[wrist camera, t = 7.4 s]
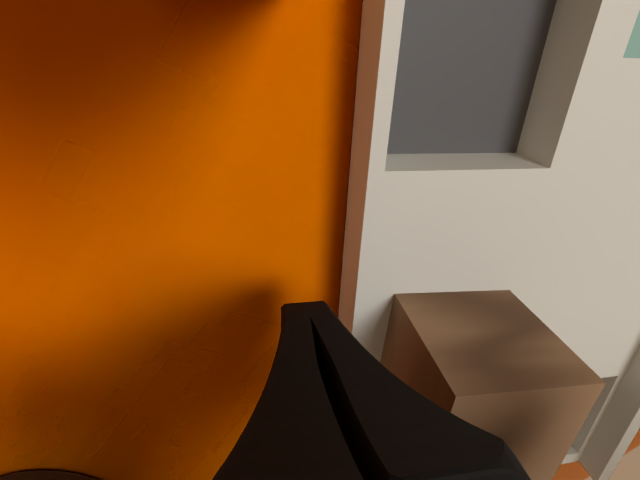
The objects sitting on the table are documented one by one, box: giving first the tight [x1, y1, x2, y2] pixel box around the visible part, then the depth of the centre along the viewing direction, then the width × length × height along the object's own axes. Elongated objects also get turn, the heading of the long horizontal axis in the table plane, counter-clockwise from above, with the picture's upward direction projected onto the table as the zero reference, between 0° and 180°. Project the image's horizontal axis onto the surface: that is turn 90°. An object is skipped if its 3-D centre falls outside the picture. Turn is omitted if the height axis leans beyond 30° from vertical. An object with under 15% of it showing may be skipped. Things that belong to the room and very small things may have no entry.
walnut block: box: [380, 290, 606, 480], centre depth 14 cm, size 4×4×4 cm
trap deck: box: [338, 0, 640, 480], centre depth 15 cm, size 14×26×3 cm, turn 178°
